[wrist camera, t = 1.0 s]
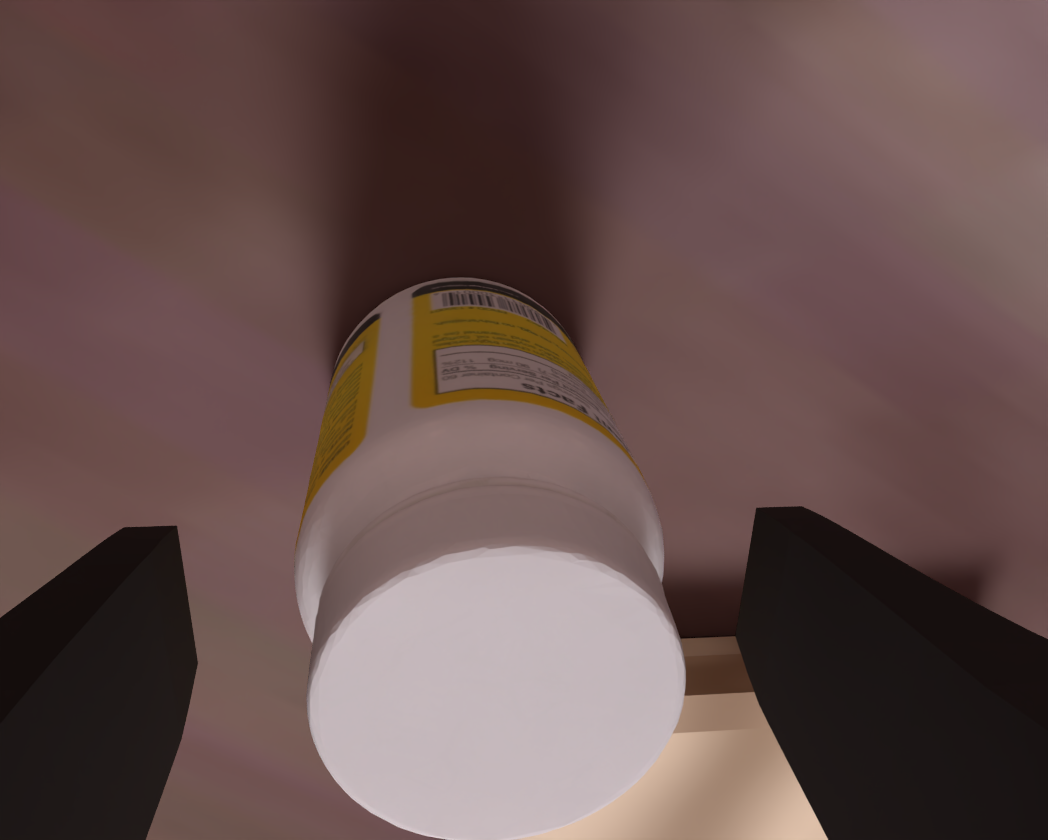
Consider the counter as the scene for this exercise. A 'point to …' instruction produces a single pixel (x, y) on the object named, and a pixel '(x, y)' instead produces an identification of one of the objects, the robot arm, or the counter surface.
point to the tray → (709, 768)
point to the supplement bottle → (480, 575)
